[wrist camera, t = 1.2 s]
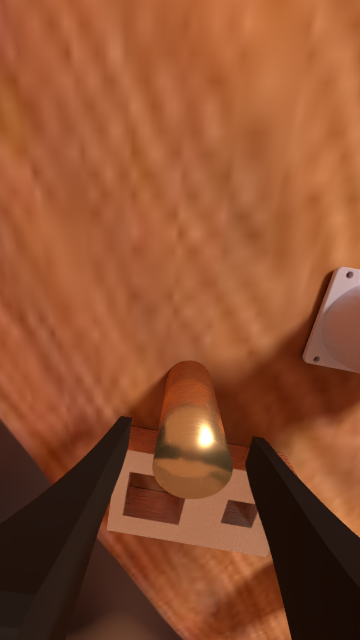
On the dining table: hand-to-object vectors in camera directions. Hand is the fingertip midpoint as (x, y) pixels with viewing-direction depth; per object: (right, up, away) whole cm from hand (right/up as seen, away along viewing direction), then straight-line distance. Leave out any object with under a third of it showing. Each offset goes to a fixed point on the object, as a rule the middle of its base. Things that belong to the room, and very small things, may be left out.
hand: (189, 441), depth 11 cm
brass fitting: (0, +1, +6) cm, 6 cm away
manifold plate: (+1, -10, +9) cm, 13 cm away
